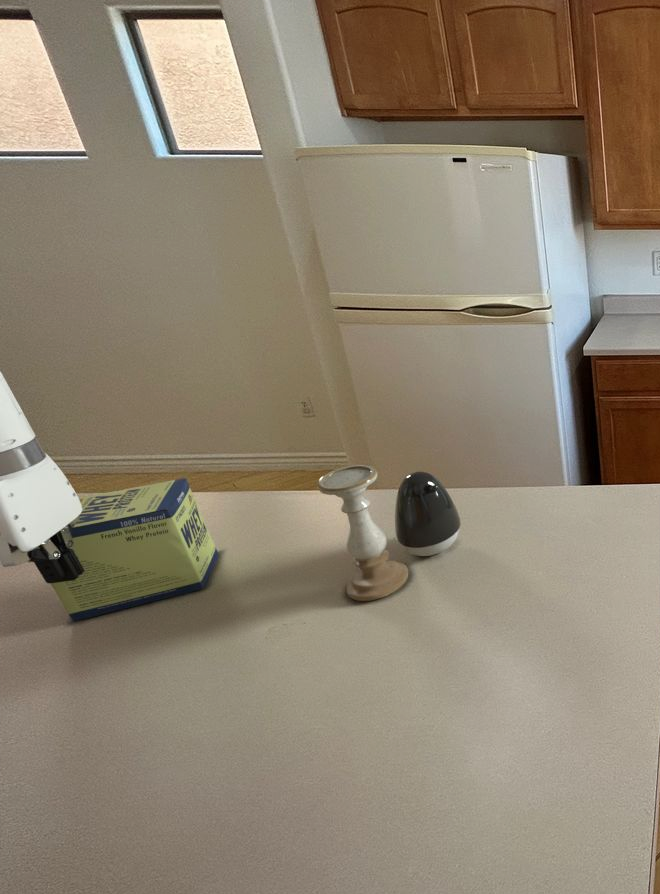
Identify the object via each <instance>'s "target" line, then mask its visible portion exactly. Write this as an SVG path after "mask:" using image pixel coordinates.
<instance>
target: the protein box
mask: <svg viewBox="0 0 660 894" xmlns="http://www.w3.org/2000/svg"><path fill="white" fill-rule="evenodd" d="M78 498H79V500H80V503H81V506H82V512H81V513H80V519H79V521H78V522H77V523H76V524H75V526H74V527H73V528H72V533H71V536H72V538H73V541H74V546H73V547H72V548H70V549H73V551H74V553H75V554H76V556H77V558H78V560H79V561H80V563H81V565H82V567H83V568H84V570H85V571H84V573H82V574H81V575H79V577H78V578H77V579H75V580H72V581H65V582H58V583H50V585H51V586H52V588H53V589H54V591H55V593H56V594H57V597H58V599H59V601H61V603H62V605H63V607H64V609H65V610H66V612H67V614H68V617H69V618H70V620H71V621H72V622H77V621H81V620H86V619H89V618H93V617H98V616H102V615H105V614H110V613H113V612H116V611H120V610H125V609H128V608H132V607H137V606H140V605H145V604H148V603H152V602H157V601H161V600H164V599H170V598H171V597H172V598H173V597H177V596H181V595H184V594H188V593H192V592H193V593H194V592H195V591H196V592H197V591H201V590H204V589H205V586H206V584H207V582H208V580H209V577H210V575H211V573H212V570H213V568H214V565H215V563H216V560H217V558H218V557H219V553H220V552H219V551H218V549H217V547H216V545H215V542H214V539H213V538H212V535H211V533H210V530H209V528H208V525H207V523H206V521H205V519H204V516H203V514H202V512H201V510H200V507H199V505H198V503H197V501H196V498H195V496H194V494H193V492H192V489H191V487H190V484H189V481H188V479H187V477H184V478H178V479H172V480H167V481H161V482H157V483H152V484H146V485H141V486H135V487H130V488H124V489H119V490H113V491H109V492H103V493H97V494H91V495H87V496H81V497H78ZM37 548H39V547H37ZM39 549H40V548H39Z"/></svg>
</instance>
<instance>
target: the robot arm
mask: <svg viewBox="0 0 660 894" xmlns="http://www.w3.org/2000/svg"><path fill="white" fill-rule="evenodd" d="M79 498H80V497H79V495H78V494H77V492H76V491H75V489H74V487H73V486H72V484H71V483H70V481H69V479H68V478H67V476H66V475H65V473H64V472H63V471H62V470H61V469H60V467H59V466H58V465H57V463H56V462H55V461H54V460H53V459H52V457H50V455H49V454H47V453H46V451H45V450H44V448H43V446H42V444H41V443H40V441H39V439H38V437H37V435H36V433H35V431H34V430H33V428H32V426H31V425H30V422H29V421H28V419H27V417H26V415H25V414H24V412H23V410H22V408H21V406H20V404H19V402H18V400H17V399H16V396H15V395H14V393H13V391H12V390H11V388H10V386H9V384H8V382H7V380H6V378H5V376H4V375H3V373H2V372H1V370H0V564H1V566H2V567H3V568H7V567H16V566H21V565H23V564H24V563H28V564H29V563H34V565H35V567H36V568H37V570H38V572H39V573H40V575H41V577H42V578H43V580H44V581H45V583H46V584H51V583H58V582H65V581H72V580H75V579H77V578H78V577H79V575H81V574H82V573H84V571H85V570H84V568H83V567H82V565H81V563H80V561H79V560H78V558H77V556H76V554H75V553H74V551H73V549H70V548H72V547H73V546H74V541H73V538H72V536H71V533H72V528H73V527H74V526H75V524H76V523H77V522H78V521H79V519H80V513H81V512H82V506H81V503H80V500H79ZM37 547H39V548H40V549H39V548H37Z"/></svg>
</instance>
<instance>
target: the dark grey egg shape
mask: <svg viewBox="0 0 660 894" xmlns="http://www.w3.org/2000/svg"><path fill="white" fill-rule="evenodd" d="M394 528H395V529H394V530H395V536H396V540H397V542H398V543H399V544H400V545H401V546H402V547H403V548H404V549H405V550H406V551H407V552H409V553H410V554H412V555H414V556H419V557H428V556H429V557H430V556H434V555H437V554H440V553H442V552H444V551H446V550H447V549H449V548H450V547H451V546H452V545H453V544H454V543H455V541H456V539H457V538H458V535H459V532H460V529H461V517H460V514H459V512H458V509H457V506H456V504H455V502H454V501H453V499H452V497H451V496H450V494H449V492H448V491H447V489H446V488H445V486H444V485H443V484H442V482H441V481H440V480H439V479H438V478H437V477H435V476H434V475H433V474H432V473H430V472H428V471H425V470H424V471H422V470H419V471H413V472H411V473H409V474H408V475H406V476H405V477H404V478H403V479H402V481H401V483H400V485H399V488H398V489H397V494H396V499H395V507H394Z"/></svg>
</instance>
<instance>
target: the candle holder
mask: <svg viewBox="0 0 660 894" xmlns="http://www.w3.org/2000/svg"><path fill="white" fill-rule="evenodd" d="M377 479H378V471H377V470H376V468H374V467H373V466H371V465H367V464H353V465H347V466H344V467H339V468H336V469H334V470H331V471H329V472H327V473H326V474H324V475H323V476H321V477H320V478H319V480H318V482H317V490H318V491H319V492H320V493H321V494H323V495H329V496H336V497H338V498H340V499H341V500H342V501H343V503H342V505H341V507H340V510H341V512H342V513H344V514H346V516H347V519H348V523H349V532H348V537H347V540H346V550H347V553H348V554H349V556H350V557H352V558H354V561H353V564H354V566H355V567H356V568H357V569H358V570H357V571H355V572H354V574H353V575H352V576H351V577H350V578H349V580H348V581H347V582H346V587H345V588H346V589H345V590H346V593H347V595H348V596H349V598H351V599H352V600H355V601H359V602H370V601H375V600H379V599H382V598H385V597H388V596H389V595H391V594H393V593H395V592H396V591H398V590H399V589H400V588H402V587H403V586H404V585H405V584H406V582H407V580H408V578H409V569H408V567H407V565H406V564H404V563H403V562H401V561H398V560H397V561H396V560H392V559H388V558H389V555H390V554H389V551H388V550H387V548H386V546H387V544H388V538H387V535H386V534H385V532H384V531H383V530H382V529H381V528H380V527H379V526H378V525H377V524H376V523H375V522H374V520H373V519H372V517H371V515H370V511H369V507H370V506H371V500H370V499H368V498H367V497H366V496H365V494H364V492H365V491H366V490H367V488H368V487H369V486H371V484H373V483H374V482H375V481H376V480H377Z"/></svg>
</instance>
